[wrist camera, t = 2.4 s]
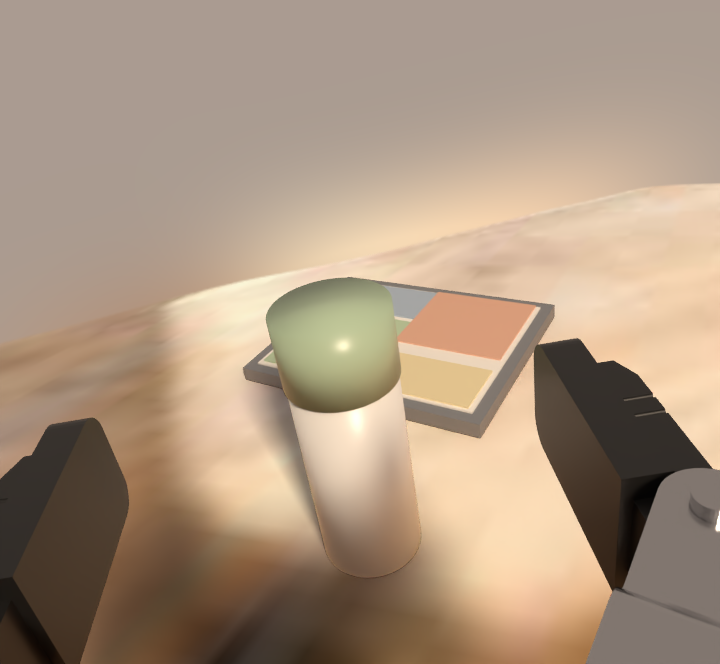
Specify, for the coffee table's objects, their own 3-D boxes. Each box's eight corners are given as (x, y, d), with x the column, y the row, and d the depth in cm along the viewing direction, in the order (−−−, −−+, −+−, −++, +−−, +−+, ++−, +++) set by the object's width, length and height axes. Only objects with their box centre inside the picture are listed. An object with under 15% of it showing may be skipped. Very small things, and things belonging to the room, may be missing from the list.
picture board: (245, 379, 43) (242, 365, 42) (349, 287, 52) (347, 274, 51) (480, 438, 35) (479, 421, 34) (554, 316, 44) (554, 302, 43)
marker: (303, 558, 29) (240, 329, 23) (355, 489, 33) (312, 272, 27) (393, 595, 27) (349, 351, 21) (440, 516, 30) (414, 286, 24)
